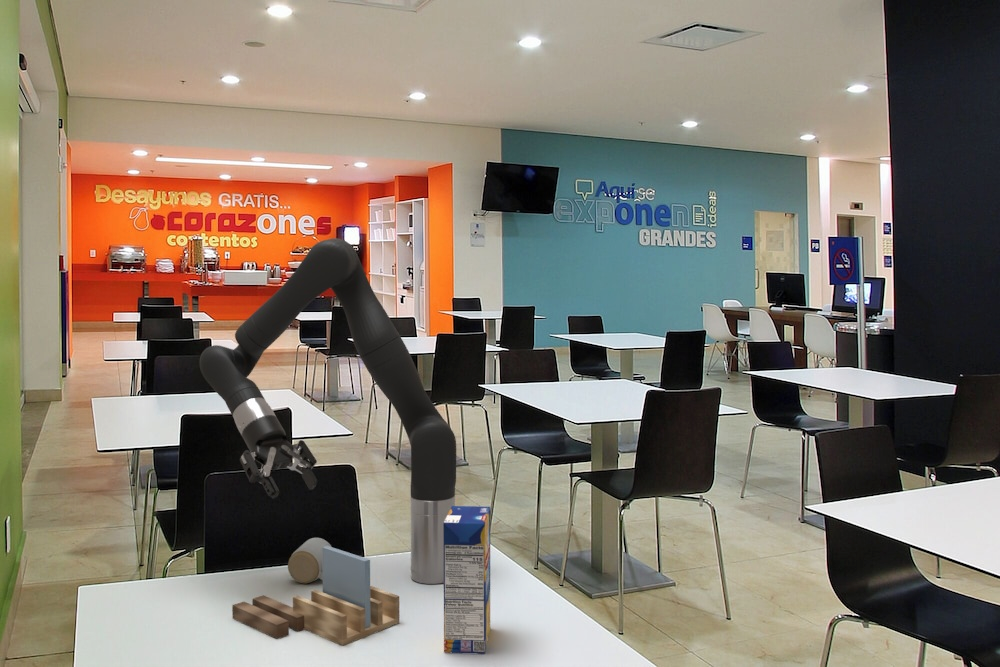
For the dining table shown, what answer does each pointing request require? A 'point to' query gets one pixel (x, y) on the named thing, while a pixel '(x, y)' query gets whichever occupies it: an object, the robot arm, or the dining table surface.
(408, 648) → the dining table surface
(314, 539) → the ceramic mug
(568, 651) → the dining table surface
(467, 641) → the beverage box
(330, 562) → the pale blue board
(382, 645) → the dining table surface
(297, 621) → the stand
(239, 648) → the dining table surface
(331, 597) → the rack
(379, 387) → the robot arm
